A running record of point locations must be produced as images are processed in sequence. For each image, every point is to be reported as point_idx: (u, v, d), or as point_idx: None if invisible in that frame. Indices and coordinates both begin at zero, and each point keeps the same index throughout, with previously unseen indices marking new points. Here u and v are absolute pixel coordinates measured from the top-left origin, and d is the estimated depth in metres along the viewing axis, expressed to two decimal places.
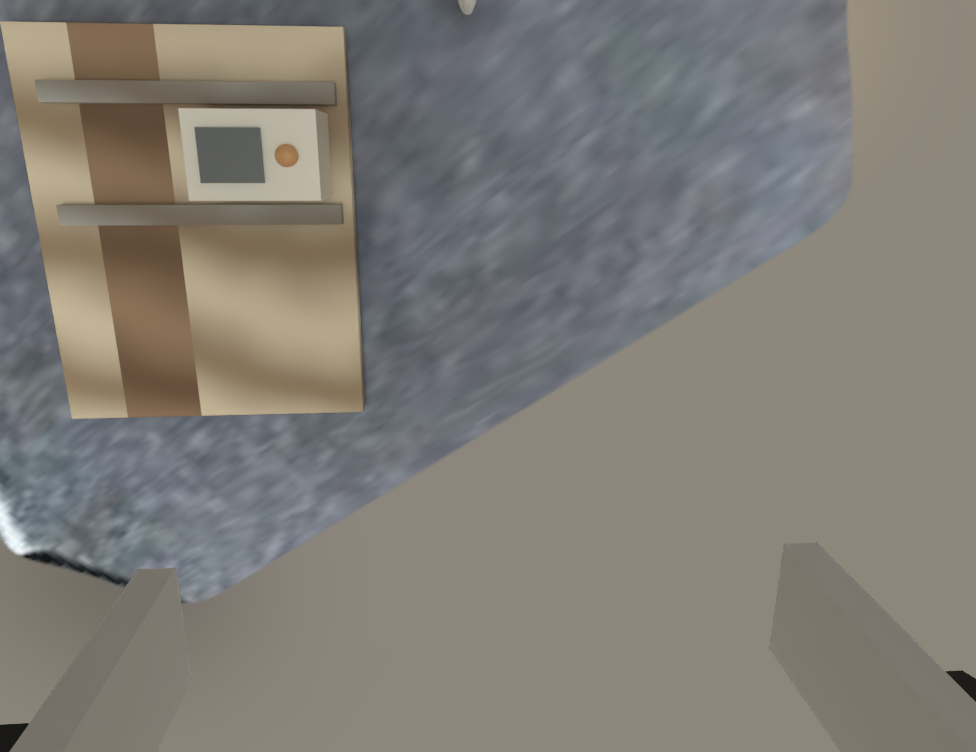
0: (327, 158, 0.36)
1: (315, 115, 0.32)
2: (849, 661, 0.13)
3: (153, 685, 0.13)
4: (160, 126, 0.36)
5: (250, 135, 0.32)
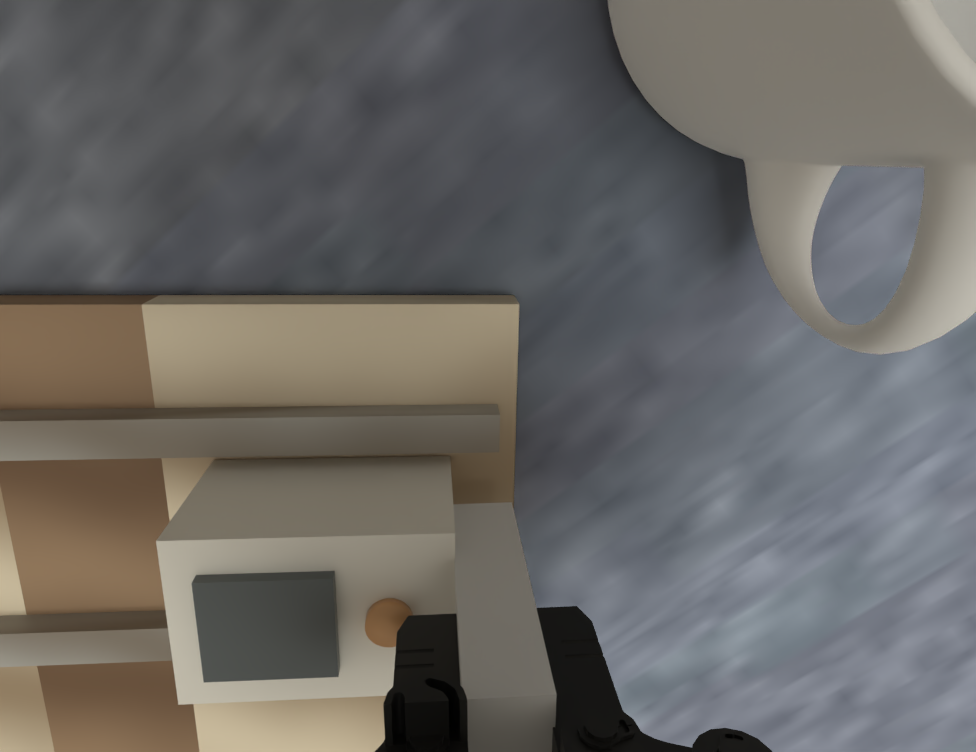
0: None
1: (454, 542, 0.15)
2: None
3: None
4: (154, 483, 0.18)
5: (314, 594, 0.15)
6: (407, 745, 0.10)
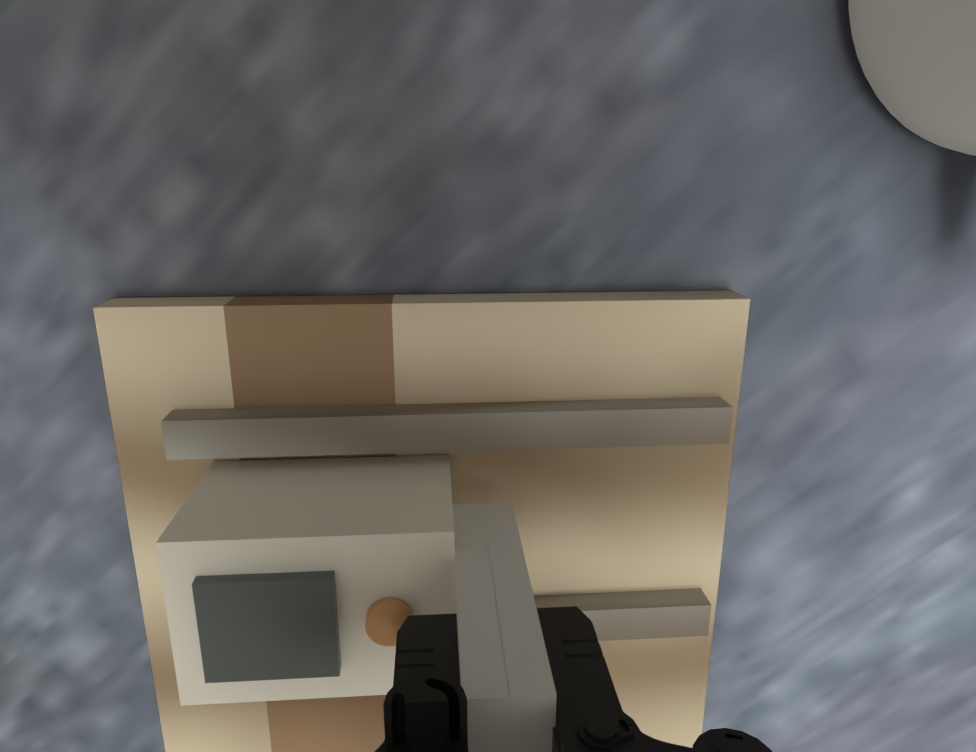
0: None
1: (453, 540, 0.15)
2: None
3: None
4: None
5: (314, 593, 0.15)
6: (407, 745, 0.10)
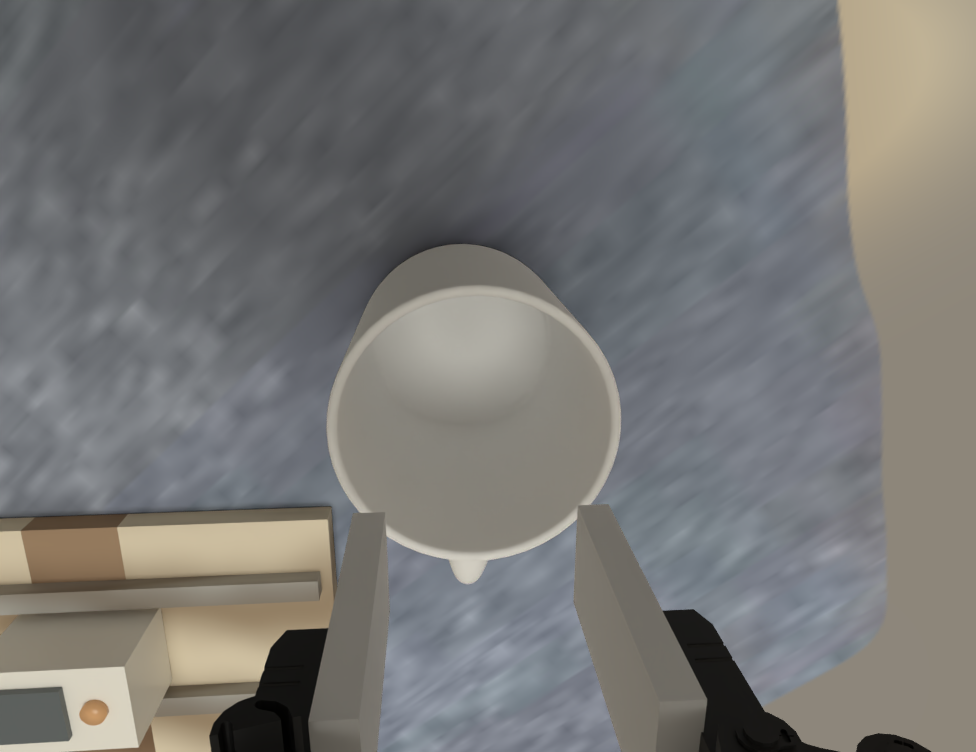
0: (159, 660, 0.32)
1: (125, 670, 0.29)
2: (602, 603, 0.15)
3: (383, 608, 0.16)
4: None
5: (49, 699, 0.28)
6: None
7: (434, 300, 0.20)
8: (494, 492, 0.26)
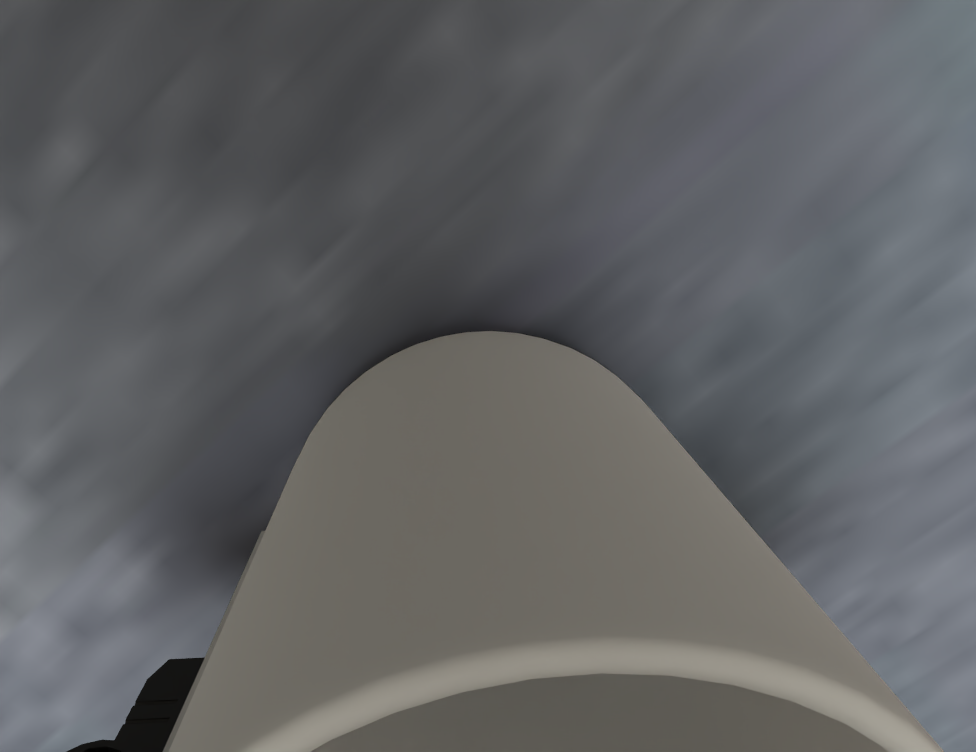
0: None
1: None
2: None
3: None
4: None
5: None
6: None
7: (433, 698, 0.05)
8: None
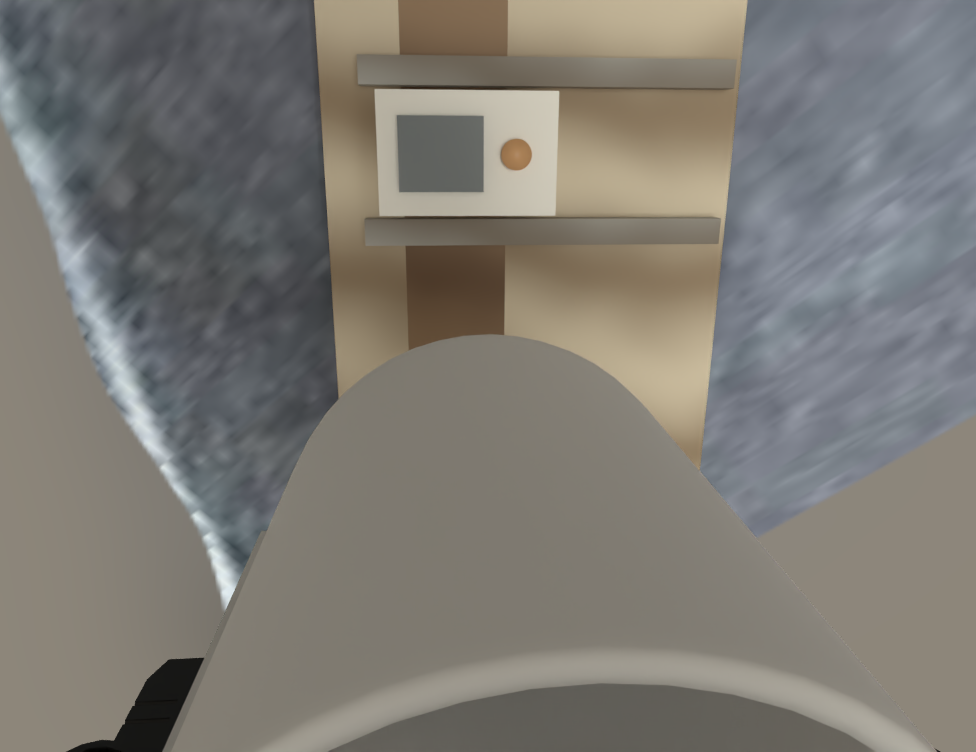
0: None
1: (557, 99, 0.24)
2: None
3: None
4: None
5: (471, 126, 0.23)
6: None
7: (432, 709, 0.05)
8: None
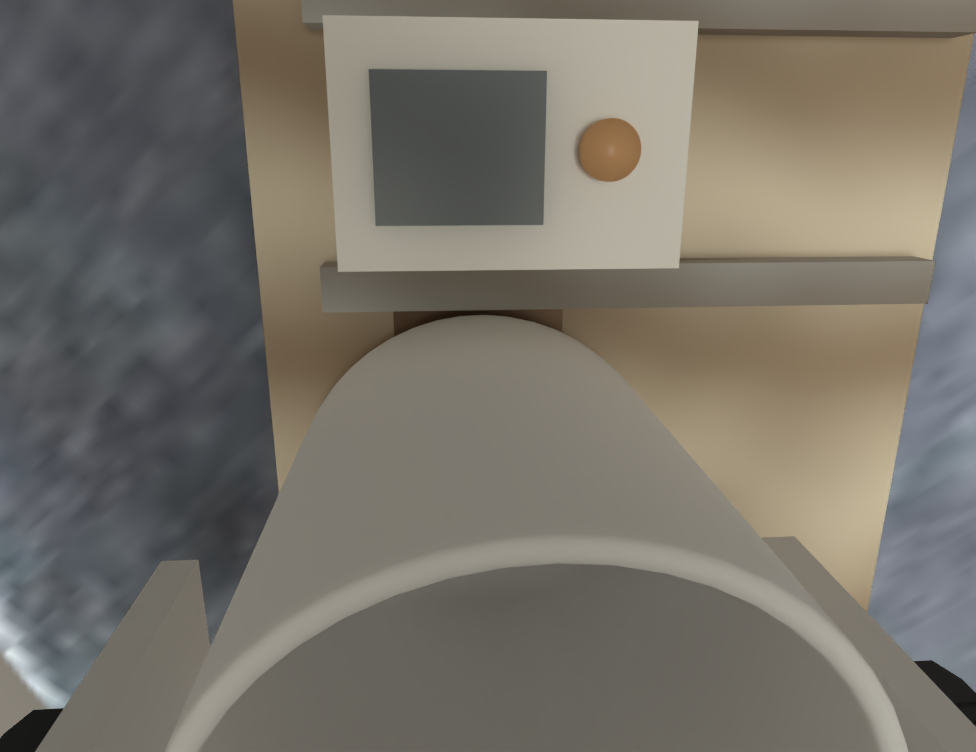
0: None
1: (693, 39, 0.12)
2: None
3: (178, 673, 0.14)
4: None
5: (521, 93, 0.11)
6: None
7: (425, 583, 0.07)
8: None
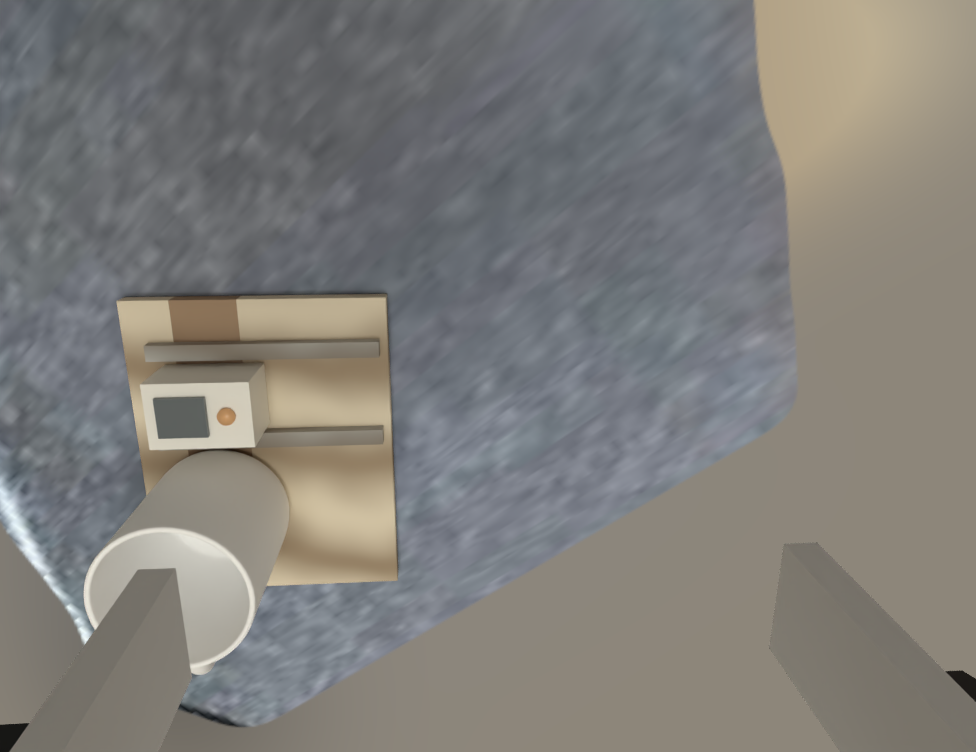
0: (263, 400, 0.44)
1: (248, 386, 0.41)
2: (849, 661, 0.13)
3: (153, 685, 0.13)
4: None
5: (197, 404, 0.41)
6: None
7: (135, 536, 0.36)
8: (218, 618, 0.42)
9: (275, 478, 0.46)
